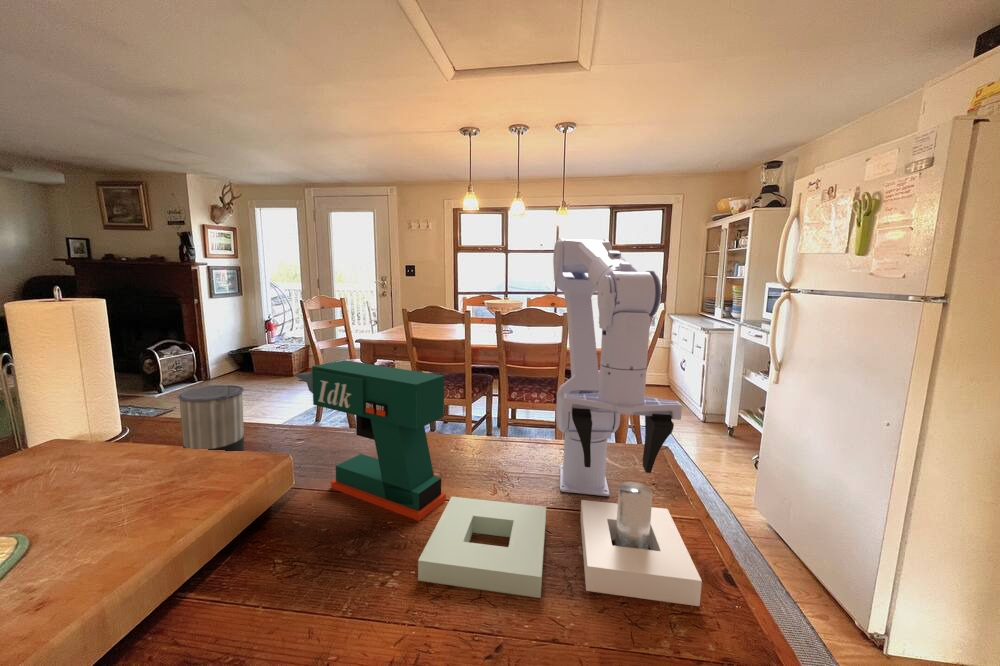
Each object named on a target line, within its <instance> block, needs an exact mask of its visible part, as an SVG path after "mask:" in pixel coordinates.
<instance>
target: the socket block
mask: <svg viewBox="0 0 1000 666" xmlns="http://www.w3.org/2000/svg"><path fill="white" fill-rule="evenodd" d="M546 520H547V506H543V505H533V504H525V503H524V504H523V503H516V502H506V501H497V500H495V501H494V500H488V499H487V500H486V499H478V498H468V497H459V496H450V498H449V501H448V502H447V505H446V506H445V508H444V510H443V512H442V514H441V516H440V518H439V520H438V522H437V524H436V526H435V528H434V529H433V531H432V533H431V535H430V537H429V539H428V541H427V543H426V545H425V546H424V548H423V551H422V552H421V554H420V556H419V558H418V560H417V581H418V582H419V581H420V582H427V583H432V584H440V585H448V586H453V587H461V588H468V589H474V590H481V591H489V592H496V593H503V594H509V595H515V596H523V597H530V598H539V599H541V598H542V585H543V583H542V582H543V570H544V569H543V568H544V567H543V566H544V552H545V538H546ZM473 534H479V535H480V534H481V535H489V536H497V537H504V538H505V537H506V538H509V542H508V546H499V545H493V544H492V545H491V544H484V543H476V542H470V541H471V539H472V535H473Z"/></svg>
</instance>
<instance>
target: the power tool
mask: <svg viewBox="0 0 1000 666" xmlns="http://www.w3.org/2000/svg"><path fill="white" fill-rule="evenodd" d="M311 368H312V369H311V371H309V372H302V373H301V372H299V373H294V374H293V376H294V377H297V378H298V379H300V380H301V381H303V382H305V383H306V385H307V388H308V391H309V392H310V393H311V394H312V403H313V404H312V405H313V406H316V407H321V408H325V409H329V410H333V411H338V412H341V413H345V414H346V413H347V414H350V415H355V416H356V417H355V418H356V419H355V421H356V424H355V427H356V428H355V429H356V436H359V437H362V438H366V439H368V440H369V439H370V440H373V441H374V443H375V448H376V454H377V458H376V457H373V456H370V455H366V454H363V453H360V454H357V455H355V456H353V457H352V458H349V459H347V460H345V461H342V462H341V463H338V464H336V465H335V479H334V480H332V481H331V482H330V489H332V490H335V491H338V492H341V493H343V494H346V495H348V496H351V497H354V498H356V499H359V500H362V501H363V502H364V501H365V502H367V503H369V504H372V503H373V504H372V505H375V504H376V506H378V505H379V506H378V507H380V506H381V507H380V508H383V507H384V508H383V509H386V510H388V509H389V510H388V511H391V512H394V513H396V514H399V515H402V516H404V517H407V518H410V519H413V520H415V521H418V522H420V521H422V520H423V519H424V518H425V517H426V516H428V515H429V514H430V513H432V512H433V511H434V510H436V509H437V508H438V507H439V506H440V505H442V504H443V503H444V502H445V501H447V493H444V492H442V477H439V476H435V474H434V470H433V464H432V463H433V462H432V458H431V454H430V448H429V443H428V438H427V434H426V427H425V426H427V425H430V424H432V423H433V422H436V421H438V420H440V419H442V418H444V417H445V375H443V374H437V373H430V372H422V371H416V370H410V369H405V368H404V369H403V368H398V367H391V366H384V365H380V364H379V365H378V364H372V363H366V362H359V361H352V360H347V359H344V360H343V359H342V360H338V361H337V360H336V361H332V362H327V363H323V364H322V363H321V364H317V365H312V366H311ZM436 507H437V508H436ZM431 511H432V512H431ZM427 514H428V515H427ZM421 519H422V520H421Z"/></svg>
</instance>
